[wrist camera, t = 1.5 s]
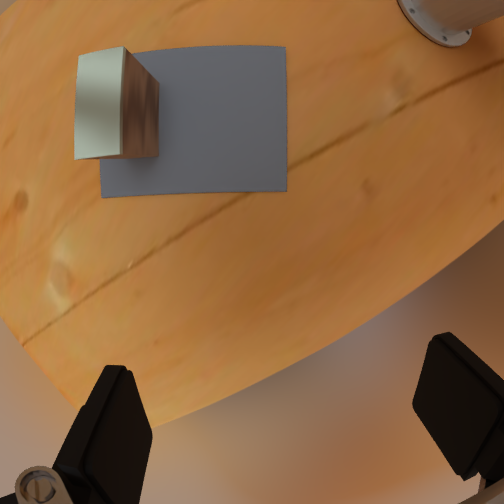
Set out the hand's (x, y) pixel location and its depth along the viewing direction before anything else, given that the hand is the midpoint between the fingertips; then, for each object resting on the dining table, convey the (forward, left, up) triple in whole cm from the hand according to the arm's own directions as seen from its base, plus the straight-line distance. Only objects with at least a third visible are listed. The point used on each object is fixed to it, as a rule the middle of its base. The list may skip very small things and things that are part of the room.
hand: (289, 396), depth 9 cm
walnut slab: (-12, -11, -26) cm, 30 cm away
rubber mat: (-12, -6, -26) cm, 29 cm away
